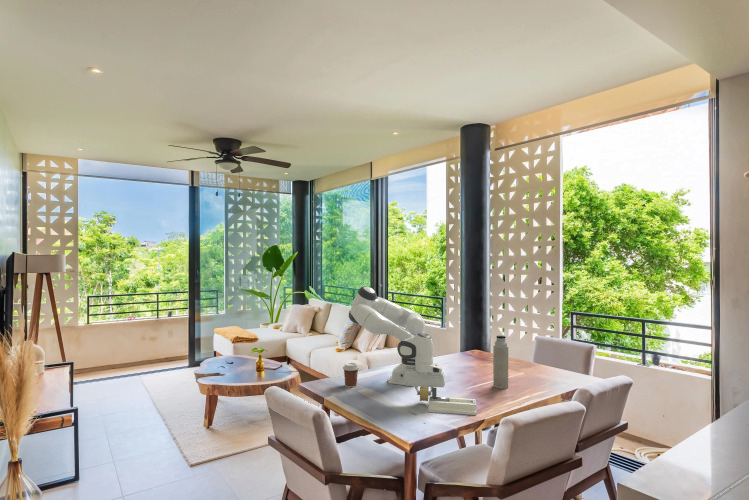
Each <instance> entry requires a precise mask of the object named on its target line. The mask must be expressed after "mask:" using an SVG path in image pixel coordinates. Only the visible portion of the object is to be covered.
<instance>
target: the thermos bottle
mask: <svg viewBox="0 0 749 500" xmlns="http://www.w3.org/2000/svg"><path fill="white" fill-rule="evenodd" d="M492 348H493V358H492V359H493V362H492V363H493V376H492V377H493V383H492V384H493V385H492V386H493V387H494V388H496V389H500V390H501V389H508V388H509V346H508V342H507V341H506V336H505V335H496V339H495V341H494V345H493V347H492Z"/></svg>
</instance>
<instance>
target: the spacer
mask: <svg viewBox="0 0 749 500" xmlns="http://www.w3.org/2000/svg"><path fill="white" fill-rule="evenodd" d="M429 388H430V387H424V386H419V391H420V395H419V401H420V402H422V401H423V402H428V401H429V397H430V396H428V391H430V390H429Z"/></svg>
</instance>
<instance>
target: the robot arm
mask: <svg viewBox="0 0 749 500" xmlns="http://www.w3.org/2000/svg"><path fill="white" fill-rule="evenodd" d="M348 318H349V321H351V322H352V323H353V324H355V325H360V326H361V327H362V328H363V329H365V330H366V331H368V333H371V334H373V335H386V336H392V337H394V338H396V339H397V340H399V342H398V344H397V354H398V355H399V356H400V357H401V358H400V359H401V362H400V363H399V364H398V365H397V366H395V367H394V368H393V370H392V372H391V375H390V376H388V378H387V383H388V384H393V385H400V386H407V387H408V386H410V387H414V389H415V391H416V395H417V396H420V389H419V387H420V386H424V387H429V388H430V390H429V391H428V396H429V397H430V396H432V388H443V389H444V387H445V386H446V380H445V379H446V378H445V375H444V374H445V373H444V372H443V366H442V365H440V364H438V363H435V362H434V359H433V355H434V343H433V338H432V336H431V335H430V334H428V333H426V323H425V320H424V318H423V317H422V315H421V314H420V313H418V312H416V311H414V310H411V309H409V308H406V307H404V306H401V305H399V304H397V303H394V302H393V301H390V300H388V299H386V298H384V297H379V296H378V295H377V292H376V290H375V289H374V288H372V287H370V286H367V285H365V286H361V287H360V288H359V289H358V291H357V293H356V295H355V297H354V299H353V301H352V304H351V307H350V310H349V312H348Z"/></svg>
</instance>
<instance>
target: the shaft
mask: <svg viewBox="0 0 749 500" xmlns="http://www.w3.org/2000/svg"><path fill="white" fill-rule="evenodd" d="M437 389H438V387H434V388H432V392H431V396H432V397H430V396H429V397H430V401H442V402H449V398H450V397H449V398H445V397H446V396H437V392H438V391H437Z"/></svg>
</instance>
